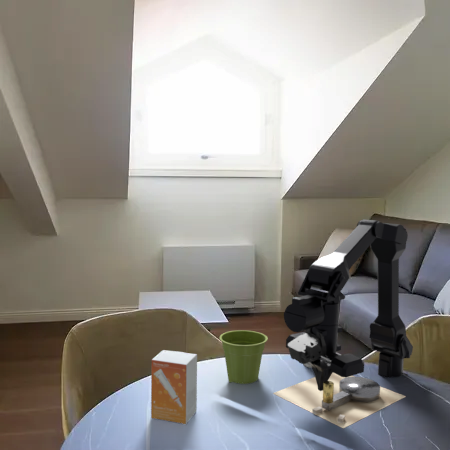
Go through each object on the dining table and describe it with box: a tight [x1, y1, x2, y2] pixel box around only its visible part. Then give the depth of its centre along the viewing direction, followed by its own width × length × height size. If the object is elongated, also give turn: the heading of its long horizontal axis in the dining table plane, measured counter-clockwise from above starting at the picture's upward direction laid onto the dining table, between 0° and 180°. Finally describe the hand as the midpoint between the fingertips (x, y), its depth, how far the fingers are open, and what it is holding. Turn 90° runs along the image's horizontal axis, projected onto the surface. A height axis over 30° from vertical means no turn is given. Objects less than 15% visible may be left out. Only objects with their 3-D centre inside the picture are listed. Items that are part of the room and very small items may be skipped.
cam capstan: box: [322, 376, 380, 411], centre depth 112 cm, size 17×9×6 cm, turn 130°
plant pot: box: [219, 329, 268, 385], centre depth 124 cm, size 12×12×11 cm
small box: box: [150, 349, 198, 425], centre depth 106 cm, size 8×6×13 cm
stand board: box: [272, 373, 407, 429], centre depth 115 cm, size 23×20×2 cm
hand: (320, 390), depth 110 cm, fingers closed
